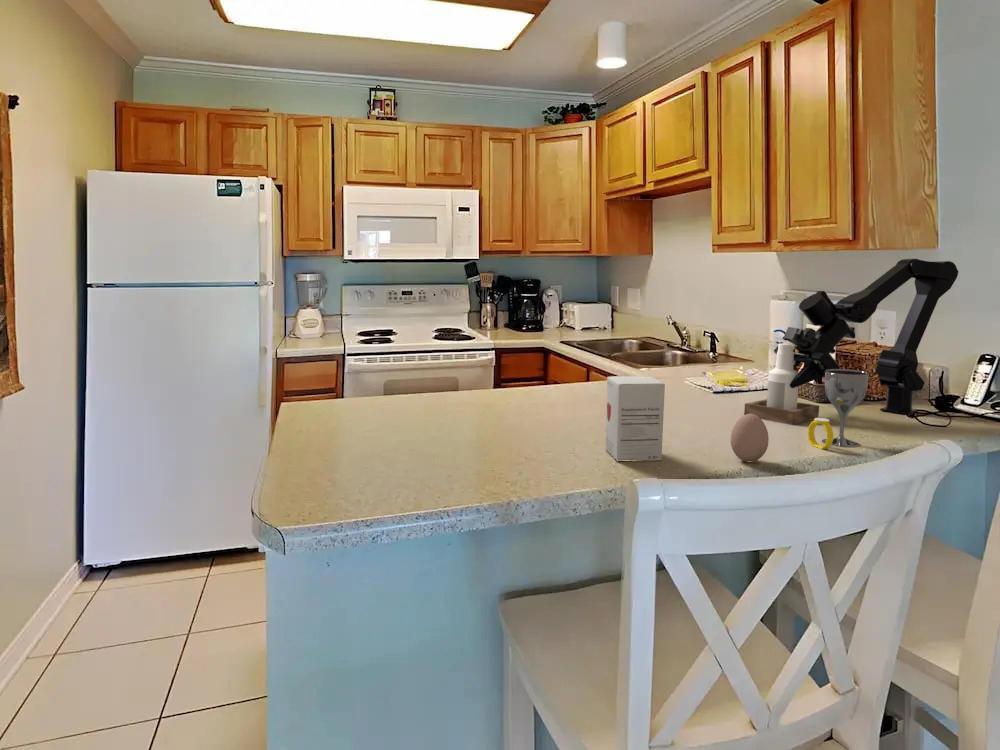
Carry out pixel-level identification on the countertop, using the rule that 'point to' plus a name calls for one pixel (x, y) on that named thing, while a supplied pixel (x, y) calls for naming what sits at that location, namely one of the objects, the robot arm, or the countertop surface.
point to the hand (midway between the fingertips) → (781, 384)
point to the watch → (828, 430)
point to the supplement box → (634, 417)
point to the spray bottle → (783, 380)
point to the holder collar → (782, 412)
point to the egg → (749, 438)
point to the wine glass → (845, 397)
